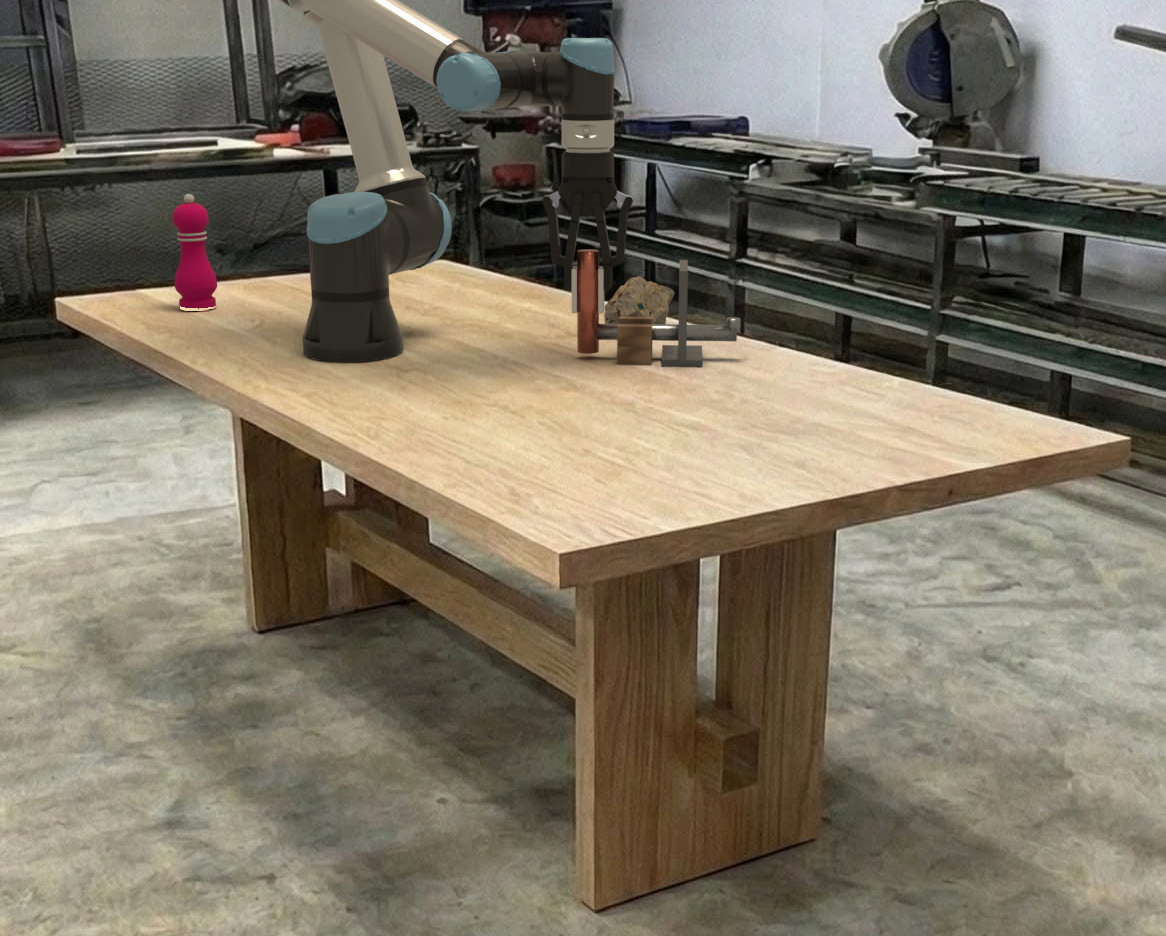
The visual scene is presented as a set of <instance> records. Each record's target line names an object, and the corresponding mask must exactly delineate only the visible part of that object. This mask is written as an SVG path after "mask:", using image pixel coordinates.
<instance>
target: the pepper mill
mask: <svg viewBox="0 0 1166 936" xmlns="http://www.w3.org/2000/svg"><path fill="white" fill-rule="evenodd" d="M183 201H184V203H181V204H179V205H177V206H176V207H175V208H174V210H173V213H172V224H173V225H174V226H175V228H177V230H178V231H177V232H176V235H177V241H178V242H179V246H180V261H179V263H178V264H179V265H178V266H177V270H176V272H175V277H174V289H175V291H176V292H177V293H178V294H179V295H180V296H181V298H180V299H178V303H179V305H178V306H181V307H185V308H198V309H199V308H208V307H214V306H216V307H217V301H216V297H214V296H213V294H214V293H215V292H216V290H217V288H218V280H217V275H216V274H215V271H214V269H213V267H212V265H211V263H210V261H209V259H208V256H207V251H206V240H207V239H208V237H207V231H206V230H205V229H206V227H207V226H208V224H209V214H208V211H207V209H206V208H205V207H204V206H203V205H201V204H199V203H196V202H195V196H194V195H193V194H190V193H187V194H185V195H184V196H183Z"/></svg>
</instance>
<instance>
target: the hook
mask: <svg viewBox="0 0 1166 936" xmlns="http://www.w3.org/2000/svg"><path fill="white" fill-rule="evenodd" d="M576 266H577V313H576V315H577V317H576V319H577V324H576V325H577V327H576V328H577V329H576V330H577V335H576V336H577V337H576V338H577V339H576V340H577V341H576V342H577V347H576V348H577V351H576V352H577V353H579V354H586V355H588V354H597V353H599V352H600V341H617V326H618V324H605V323H600V313H598V269H599V266H600V250H598V249H590V248H589V249H578V250H577V251H576ZM678 327H679V324H673V323H672V324H671V323H670V324H652V341H659V342H660V341H664V342H665V341H666V342H667V341H669V342H672V341H675V342H677V341H678ZM740 334H741V318H740V317H734V316H732V317H731V316H730V317H727V318H726V324H687V342H737V339H738V335H740Z"/></svg>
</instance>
